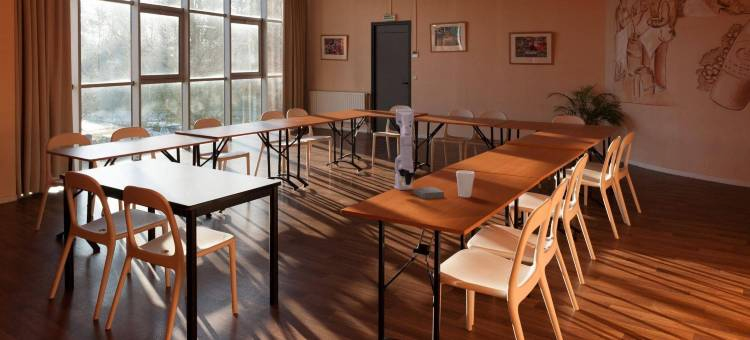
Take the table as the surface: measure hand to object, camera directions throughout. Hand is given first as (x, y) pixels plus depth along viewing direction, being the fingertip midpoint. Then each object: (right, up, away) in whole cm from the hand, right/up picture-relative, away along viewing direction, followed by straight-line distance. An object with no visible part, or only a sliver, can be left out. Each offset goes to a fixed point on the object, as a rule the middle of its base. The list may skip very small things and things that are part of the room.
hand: (405, 183), depth 347 cm
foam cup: (+31, -7, +5) cm, 33 cm away
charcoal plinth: (+12, -6, +5) cm, 15 cm away
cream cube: (0, -1, 0) cm, 2 cm away
